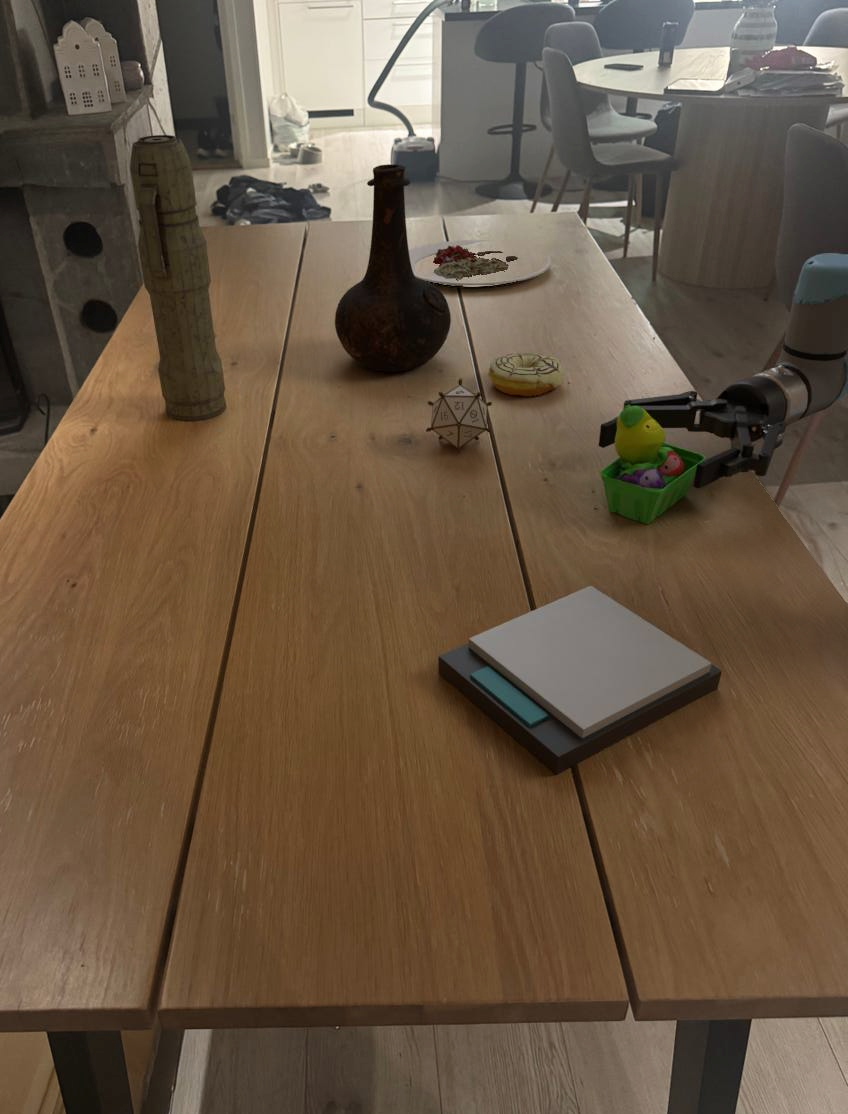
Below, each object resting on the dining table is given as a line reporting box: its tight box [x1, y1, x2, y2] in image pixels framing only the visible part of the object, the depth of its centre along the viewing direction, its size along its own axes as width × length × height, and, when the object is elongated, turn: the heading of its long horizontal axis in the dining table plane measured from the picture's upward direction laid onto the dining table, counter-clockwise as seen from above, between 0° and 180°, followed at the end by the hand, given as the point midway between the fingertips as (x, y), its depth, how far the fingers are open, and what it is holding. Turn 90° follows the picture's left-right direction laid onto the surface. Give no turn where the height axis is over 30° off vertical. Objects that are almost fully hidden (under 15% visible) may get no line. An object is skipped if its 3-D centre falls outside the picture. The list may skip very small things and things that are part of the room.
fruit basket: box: [600, 405, 706, 525], centre depth 109 cm, size 11×9×11 cm
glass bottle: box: [334, 163, 452, 373], centre depth 142 cm, size 18×18×28 cm
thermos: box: [129, 134, 227, 421], centre depth 128 cm, size 9×12×35 cm
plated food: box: [409, 239, 552, 286], centre depth 187 cm, size 30×30×3 cm
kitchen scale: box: [437, 585, 723, 776], centre depth 85 cm, size 16×19×3 cm
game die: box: [425, 377, 493, 456], centre depth 124 cm, size 9×8×10 cm
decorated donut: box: [488, 352, 565, 397], centre depth 140 cm, size 10×11×4 cm
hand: (647, 455), depth 109 cm, fingers open, 13 cm apart
